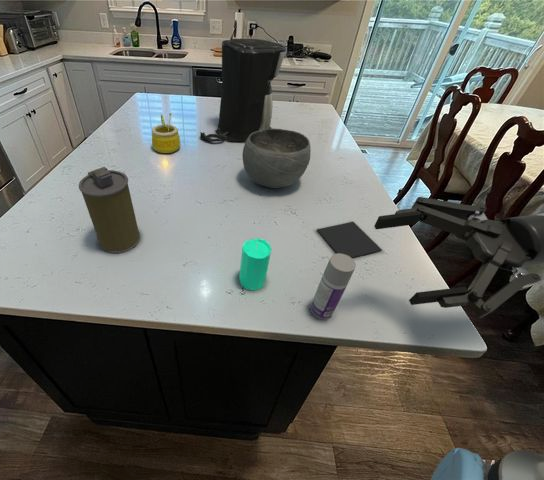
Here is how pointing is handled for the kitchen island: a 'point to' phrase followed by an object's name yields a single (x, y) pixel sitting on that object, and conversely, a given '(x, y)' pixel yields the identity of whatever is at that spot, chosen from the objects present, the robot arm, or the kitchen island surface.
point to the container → (332, 285)
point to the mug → (165, 137)
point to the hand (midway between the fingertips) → (393, 257)
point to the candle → (254, 263)
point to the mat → (348, 240)
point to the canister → (110, 209)
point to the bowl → (276, 157)
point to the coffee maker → (246, 87)
